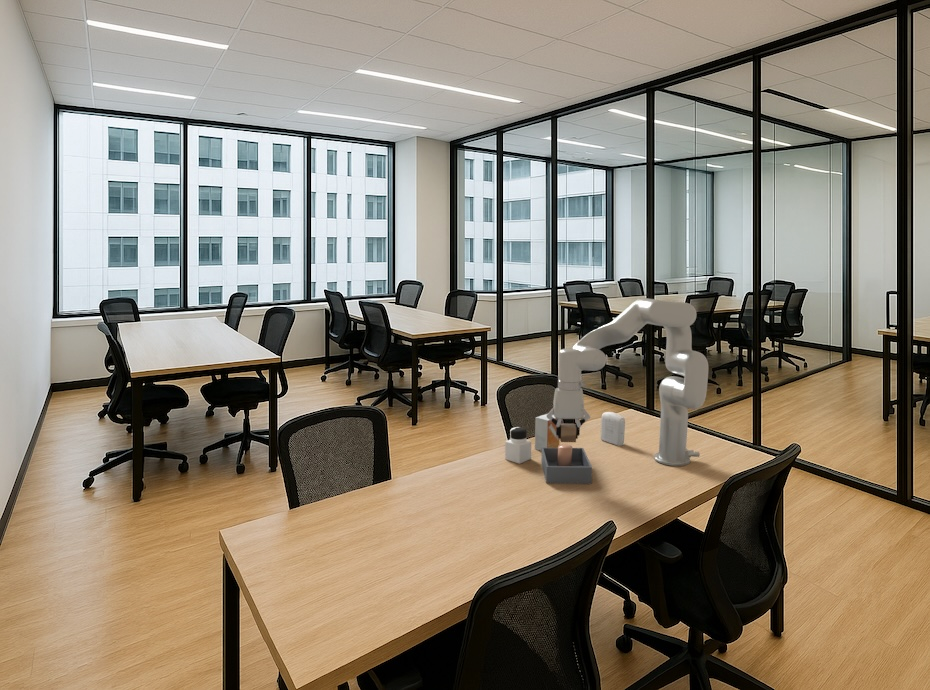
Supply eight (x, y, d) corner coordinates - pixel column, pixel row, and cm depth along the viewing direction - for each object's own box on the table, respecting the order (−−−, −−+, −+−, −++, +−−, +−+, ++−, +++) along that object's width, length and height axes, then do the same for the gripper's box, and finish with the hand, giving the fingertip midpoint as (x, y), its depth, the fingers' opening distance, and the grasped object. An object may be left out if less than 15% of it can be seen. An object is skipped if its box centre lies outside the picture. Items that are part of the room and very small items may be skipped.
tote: (582, 462, 223) (583, 447, 222) (591, 483, 204) (592, 467, 203) (541, 462, 223) (541, 447, 222) (546, 483, 205) (546, 466, 204)
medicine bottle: (531, 459, 227) (531, 428, 225) (519, 464, 222) (520, 432, 220) (516, 454, 232) (516, 424, 230) (504, 459, 227) (504, 428, 225)
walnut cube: (575, 442, 204) (576, 428, 203) (560, 442, 204) (561, 427, 203) (573, 437, 209) (574, 423, 208) (559, 437, 209) (559, 423, 208)
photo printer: (625, 444, 242) (626, 414, 240) (618, 446, 240) (619, 416, 238) (606, 438, 251) (607, 409, 249) (598, 440, 248) (599, 410, 246)
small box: (547, 453, 234) (547, 420, 231) (534, 449, 238) (534, 417, 236) (560, 448, 239) (560, 416, 237) (547, 444, 244) (547, 413, 241)
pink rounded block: (567, 462, 221) (568, 443, 220) (573, 467, 217) (574, 448, 216) (554, 463, 220) (556, 444, 219) (560, 468, 215) (561, 449, 214)
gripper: (592, 383, 207) (590, 434, 210) (542, 382, 207) (541, 433, 210) (596, 388, 199) (594, 441, 202) (544, 387, 200) (543, 440, 203)
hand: (567, 436), depth 206 cm, fingers closed on walnut cube, 5 cm apart
